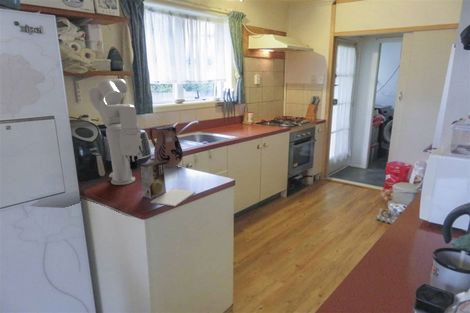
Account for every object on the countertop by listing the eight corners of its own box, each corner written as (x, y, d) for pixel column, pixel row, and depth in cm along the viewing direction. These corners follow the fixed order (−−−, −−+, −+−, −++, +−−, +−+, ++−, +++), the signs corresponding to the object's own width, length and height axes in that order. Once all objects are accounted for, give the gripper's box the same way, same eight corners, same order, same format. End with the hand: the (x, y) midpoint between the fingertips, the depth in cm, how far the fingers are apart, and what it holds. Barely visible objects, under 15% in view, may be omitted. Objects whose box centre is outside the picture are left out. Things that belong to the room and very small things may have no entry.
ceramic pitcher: (178, 170, 196) (175, 129, 190) (145, 169, 199) (141, 129, 193) (187, 162, 213) (184, 124, 206) (156, 161, 216) (153, 124, 210)
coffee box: (158, 190, 162) (155, 159, 158) (166, 193, 158) (163, 161, 154) (142, 196, 155) (139, 163, 151) (151, 199, 151) (147, 166, 147)
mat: (150, 202, 147) (150, 201, 147) (173, 189, 163) (172, 188, 163) (175, 206, 142) (174, 205, 142) (195, 192, 158) (195, 191, 158)
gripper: (111, 132, 153) (116, 169, 157) (137, 133, 147) (141, 172, 152) (122, 129, 160) (127, 165, 164) (147, 130, 154) (151, 167, 158)
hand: (133, 168), depth 158 cm, fingers closed
